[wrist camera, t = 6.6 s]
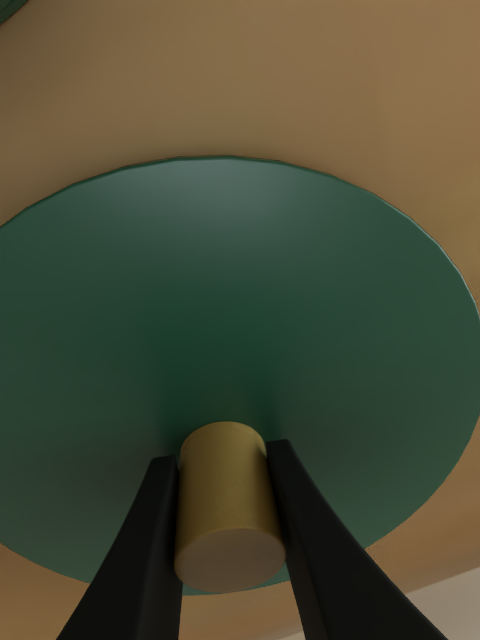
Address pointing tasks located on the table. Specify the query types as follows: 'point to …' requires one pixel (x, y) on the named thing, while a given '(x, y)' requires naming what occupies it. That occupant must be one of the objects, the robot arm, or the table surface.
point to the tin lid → (224, 361)
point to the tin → (9, 8)
